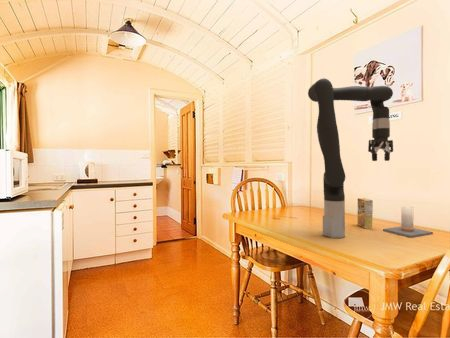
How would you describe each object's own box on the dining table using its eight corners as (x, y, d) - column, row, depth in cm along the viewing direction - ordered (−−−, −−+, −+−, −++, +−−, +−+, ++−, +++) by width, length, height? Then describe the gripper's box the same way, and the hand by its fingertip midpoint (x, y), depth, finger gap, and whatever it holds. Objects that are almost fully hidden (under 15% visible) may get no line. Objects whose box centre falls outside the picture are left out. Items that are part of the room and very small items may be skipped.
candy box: (356, 225, 149) (356, 198, 149) (364, 225, 149) (364, 197, 149) (365, 228, 141) (365, 200, 140) (373, 228, 141) (373, 200, 140)
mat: (410, 237, 123) (410, 235, 123) (382, 230, 136) (382, 228, 136) (432, 234, 129) (432, 232, 129) (404, 227, 142) (404, 225, 142)
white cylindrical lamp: (409, 232, 129) (408, 207, 129) (398, 229, 134) (398, 206, 134) (416, 231, 131) (416, 206, 131) (405, 228, 136) (405, 205, 135)
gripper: (384, 129, 138) (384, 160, 138) (363, 128, 133) (363, 161, 133) (398, 127, 131) (398, 160, 131) (377, 126, 126) (377, 160, 126)
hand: (380, 160), depth 132 cm, fingers open, 8 cm apart
